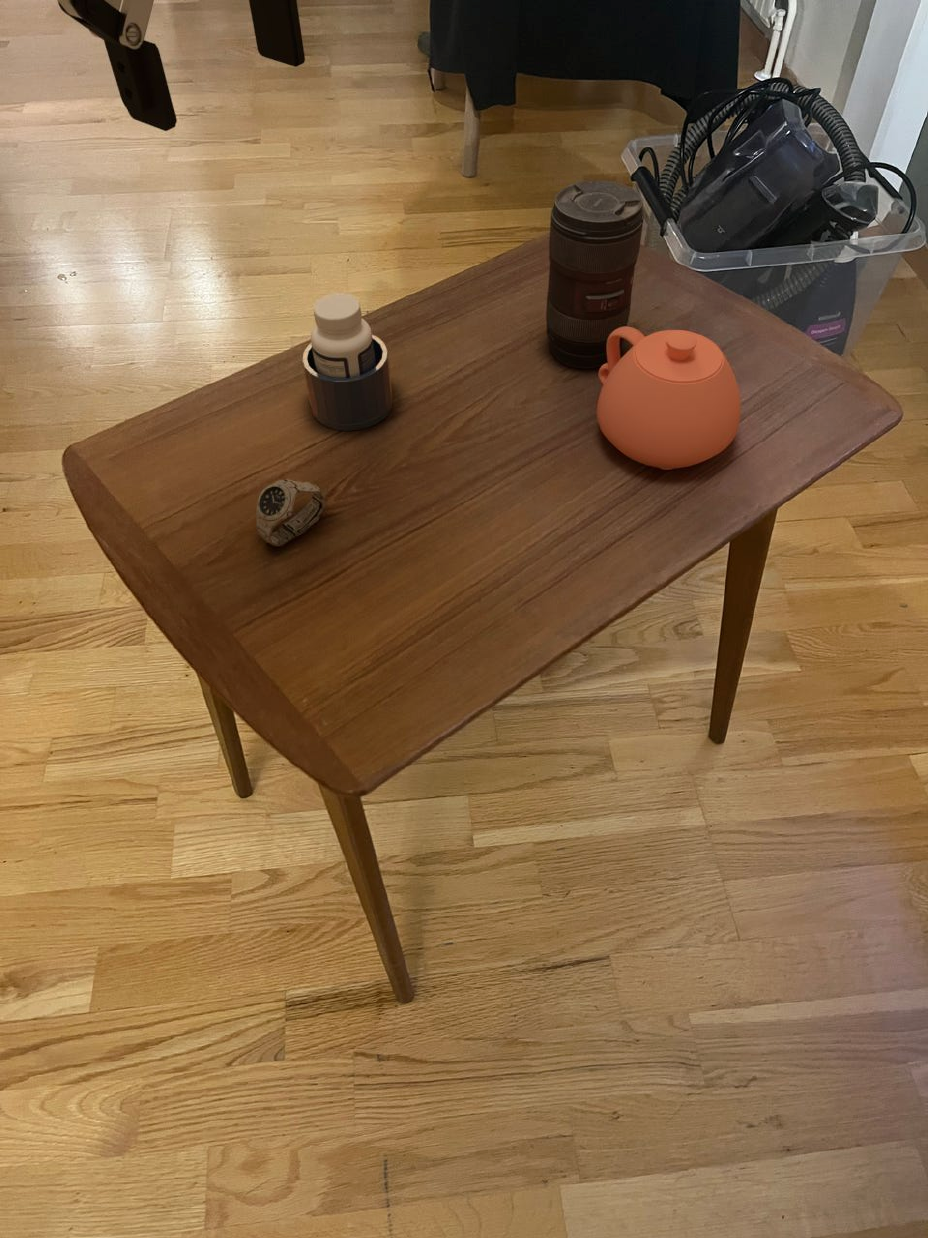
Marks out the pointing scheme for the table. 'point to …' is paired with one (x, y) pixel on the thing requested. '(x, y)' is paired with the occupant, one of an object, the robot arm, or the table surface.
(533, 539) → the table surface
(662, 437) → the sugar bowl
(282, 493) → the wristwatch
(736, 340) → the table surface
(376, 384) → the cup
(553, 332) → the camera lens
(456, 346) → the table surface
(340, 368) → the pill bottle
